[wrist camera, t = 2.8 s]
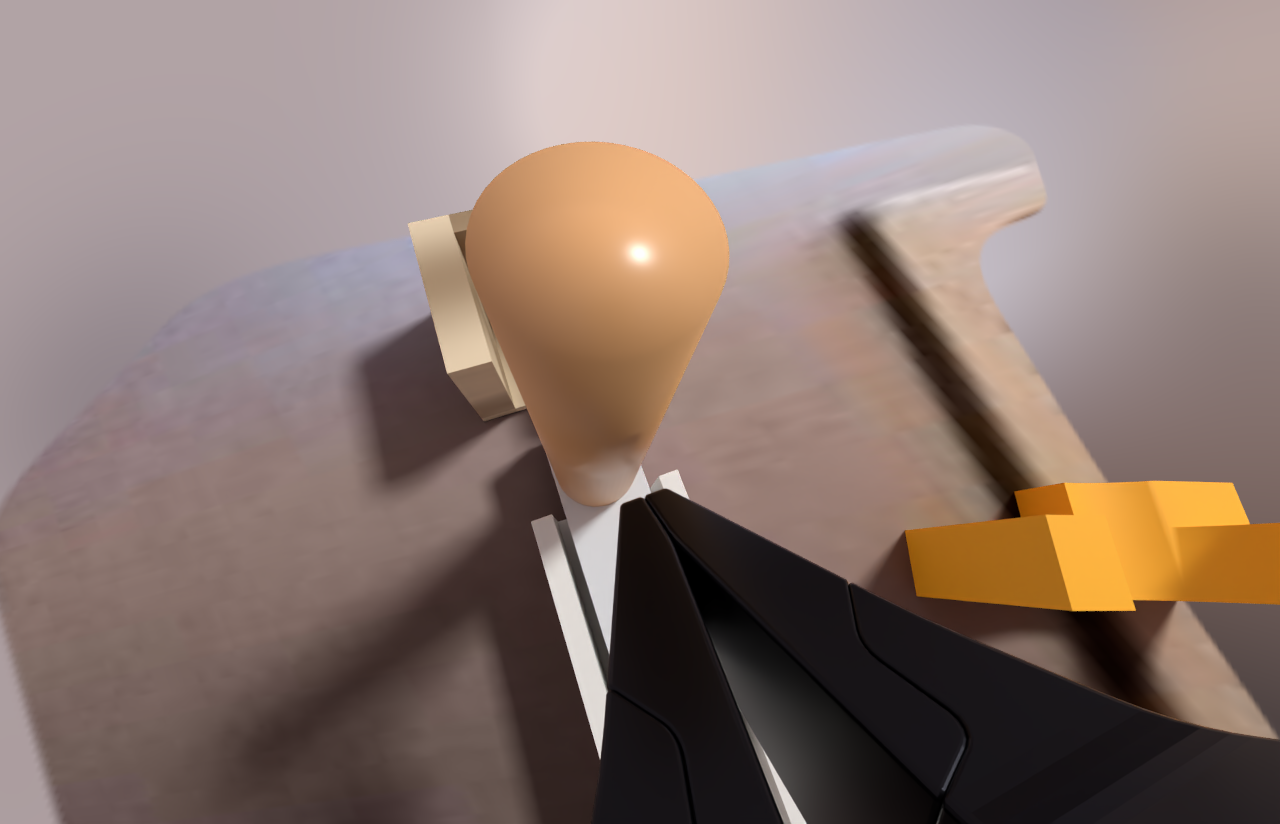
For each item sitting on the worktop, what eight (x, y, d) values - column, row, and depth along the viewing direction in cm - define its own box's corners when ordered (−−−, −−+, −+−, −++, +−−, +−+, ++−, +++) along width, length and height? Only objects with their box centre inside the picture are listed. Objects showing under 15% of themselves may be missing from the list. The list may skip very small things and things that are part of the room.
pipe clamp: (1139, 494, 21) (1363, 466, 15) (1174, 595, 20) (1438, 609, 13) (895, 489, 20) (1028, 455, 14) (914, 595, 18) (1072, 611, 12)
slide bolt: (732, 740, 15) (1489, 1703, 2) (650, 780, 15) (1062, 2346, 2) (611, 411, 19) (652, 64, 6) (541, 434, 18) (409, 103, 5)
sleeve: (790, 814, 15) (837, 875, 12) (649, 892, 14) (663, 978, 11) (663, 484, 19) (677, 469, 16) (541, 529, 18) (530, 521, 15)
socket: (644, 373, 20) (659, 314, 16) (484, 421, 19) (447, 373, 14) (601, 264, 22) (603, 182, 17) (450, 302, 20) (407, 223, 16)
